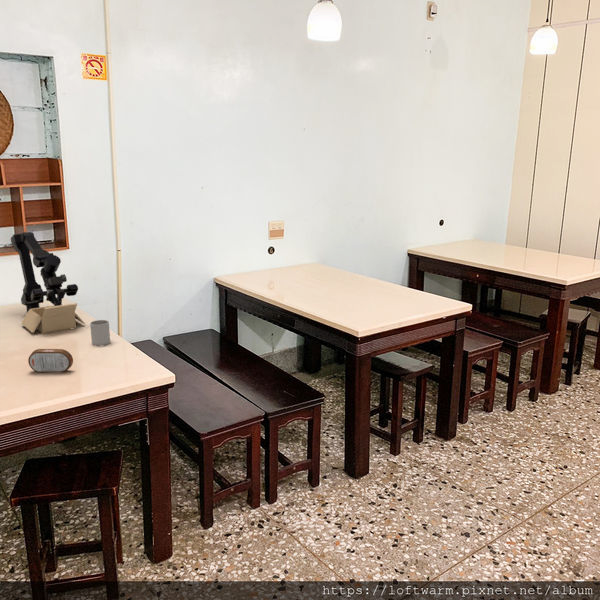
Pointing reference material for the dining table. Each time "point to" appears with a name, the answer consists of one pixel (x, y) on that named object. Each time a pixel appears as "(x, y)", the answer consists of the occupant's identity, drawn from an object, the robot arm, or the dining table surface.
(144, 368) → the dining table surface
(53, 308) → the flap
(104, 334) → the cup
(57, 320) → the carton
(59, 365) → the tin
